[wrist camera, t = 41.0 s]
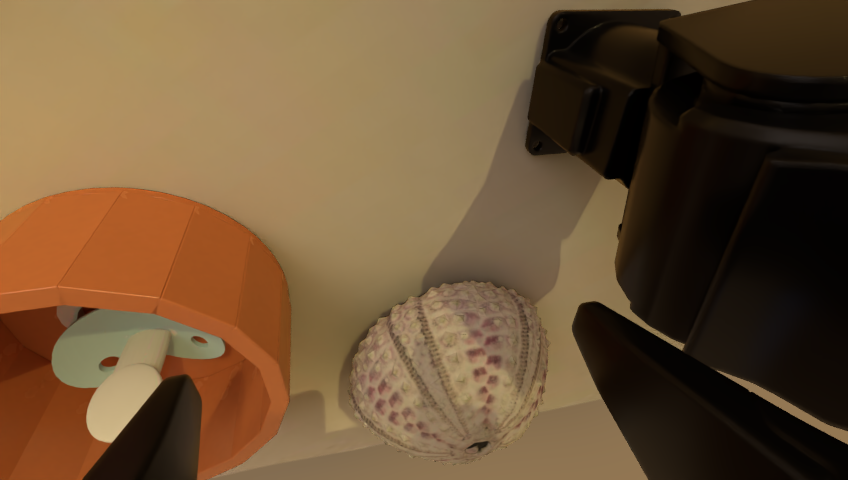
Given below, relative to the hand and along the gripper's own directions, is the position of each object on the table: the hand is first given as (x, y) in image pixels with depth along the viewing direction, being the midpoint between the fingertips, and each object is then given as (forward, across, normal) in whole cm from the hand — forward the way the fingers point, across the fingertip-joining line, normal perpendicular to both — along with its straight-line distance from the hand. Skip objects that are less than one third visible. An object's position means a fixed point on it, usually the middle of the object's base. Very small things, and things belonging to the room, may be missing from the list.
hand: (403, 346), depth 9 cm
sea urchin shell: (+12, -5, +15) cm, 20 cm away
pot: (+12, +11, +8) cm, 18 cm away
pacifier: (+12, +11, +8) cm, 18 cm away
